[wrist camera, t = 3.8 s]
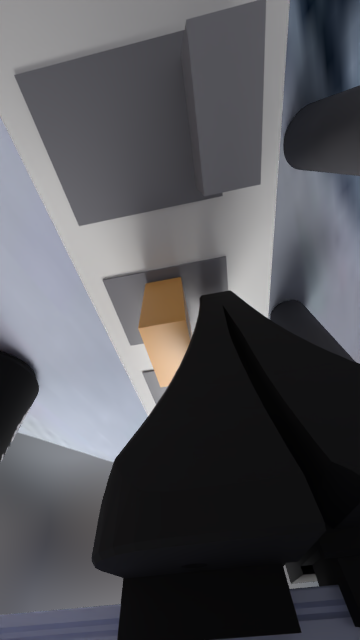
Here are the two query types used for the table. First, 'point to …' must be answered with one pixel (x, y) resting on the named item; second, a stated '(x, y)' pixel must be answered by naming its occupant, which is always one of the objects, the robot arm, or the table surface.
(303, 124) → the disc
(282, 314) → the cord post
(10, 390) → the beverage can
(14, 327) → the table surface
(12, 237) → the table surface
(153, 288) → the block
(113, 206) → the breaker panel
